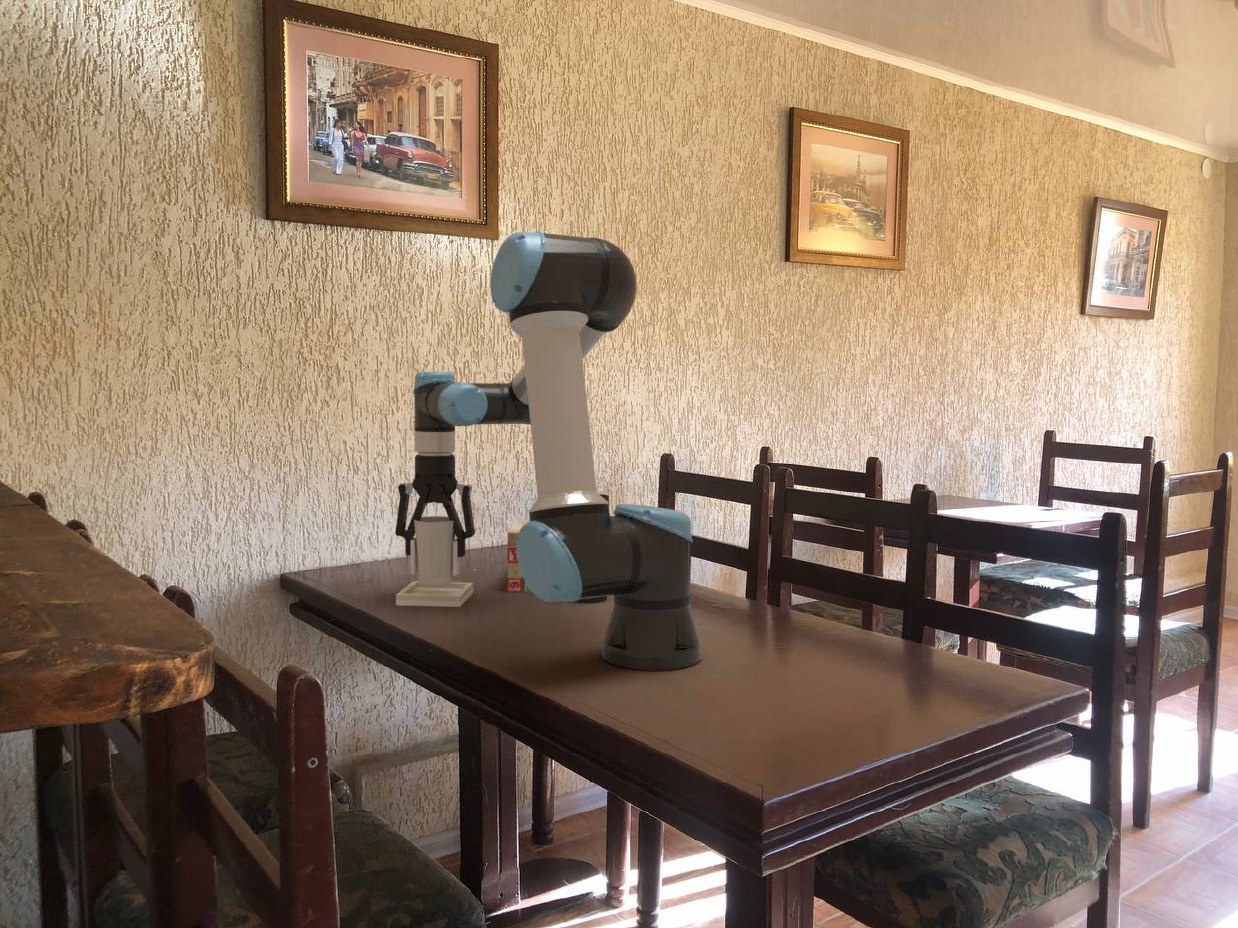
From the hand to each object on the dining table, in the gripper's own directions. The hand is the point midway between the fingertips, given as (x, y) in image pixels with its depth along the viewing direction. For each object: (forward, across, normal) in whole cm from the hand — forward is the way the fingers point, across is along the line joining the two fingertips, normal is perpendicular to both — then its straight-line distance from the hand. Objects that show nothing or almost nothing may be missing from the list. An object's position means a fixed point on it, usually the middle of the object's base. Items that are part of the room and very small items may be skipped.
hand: (435, 573), depth 188 cm
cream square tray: (+5, 0, 0) cm, 5 cm away
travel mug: (+5, -29, -3) cm, 30 cm away
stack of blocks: (+5, -15, -18) cm, 24 cm away
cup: (+2, 0, 0) cm, 2 cm away
